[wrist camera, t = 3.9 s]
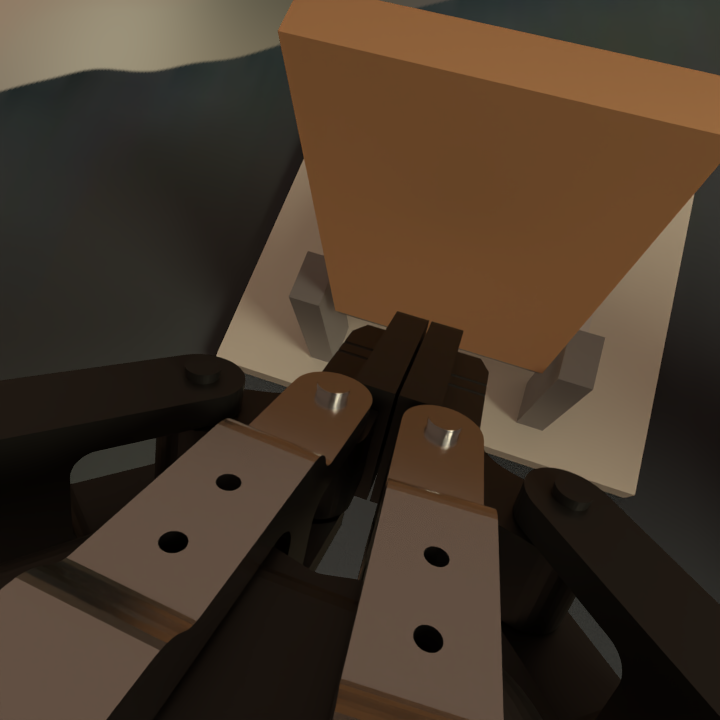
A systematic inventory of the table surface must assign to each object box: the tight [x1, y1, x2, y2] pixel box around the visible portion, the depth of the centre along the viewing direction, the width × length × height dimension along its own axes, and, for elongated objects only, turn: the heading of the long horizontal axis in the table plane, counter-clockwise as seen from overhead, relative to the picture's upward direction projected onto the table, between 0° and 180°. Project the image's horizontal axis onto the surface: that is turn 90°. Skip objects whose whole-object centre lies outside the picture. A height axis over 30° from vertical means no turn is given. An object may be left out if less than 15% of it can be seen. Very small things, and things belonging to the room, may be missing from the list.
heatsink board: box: [216, 160, 694, 498], centre depth 26 cm, size 20×17×8 cm
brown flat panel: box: [278, 0, 720, 373], centre depth 16 cm, size 8×1×13 cm, turn 71°
